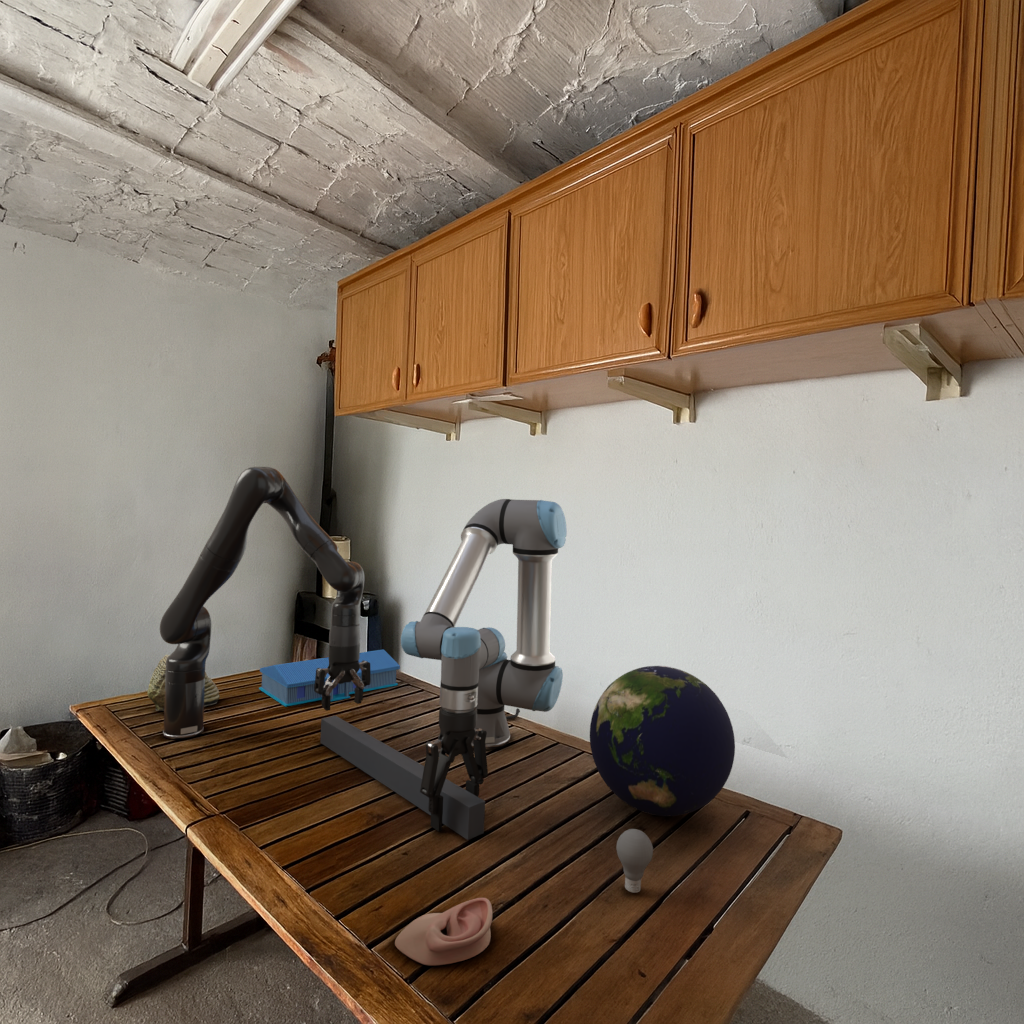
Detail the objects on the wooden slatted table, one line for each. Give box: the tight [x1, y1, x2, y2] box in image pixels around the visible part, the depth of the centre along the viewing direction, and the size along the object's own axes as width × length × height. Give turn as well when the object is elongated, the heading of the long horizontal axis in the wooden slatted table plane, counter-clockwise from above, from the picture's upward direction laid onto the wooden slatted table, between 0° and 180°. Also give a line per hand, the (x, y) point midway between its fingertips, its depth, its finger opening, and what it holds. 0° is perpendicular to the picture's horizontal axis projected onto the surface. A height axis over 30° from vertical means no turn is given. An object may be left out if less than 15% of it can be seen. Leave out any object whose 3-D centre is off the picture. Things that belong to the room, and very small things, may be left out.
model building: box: [258, 649, 401, 707], centre depth 208 cm, size 39×24×10 cm, turn 132°
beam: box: [320, 715, 486, 841], centre depth 142 cm, size 60×4×6 cm, turn 44°
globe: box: [589, 665, 736, 817], centre depth 135 cm, size 30×30×30 cm
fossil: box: [147, 654, 221, 712], centre depth 185 cm, size 9×18×15 cm, turn 132°
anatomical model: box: [394, 897, 493, 967], centre depth 92 cm, size 13×4×12 cm
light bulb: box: [615, 828, 654, 894], centre depth 106 cm, size 6×6×10 cm
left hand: (342, 706), depth 159 cm, fingers open, 8 cm apart
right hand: (453, 820), depth 126 cm, fingers open, 8 cm apart
